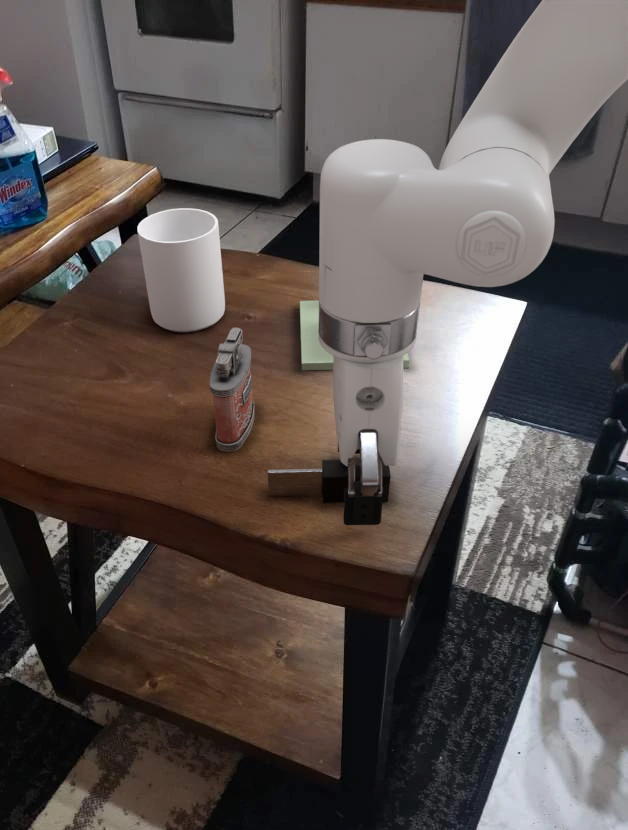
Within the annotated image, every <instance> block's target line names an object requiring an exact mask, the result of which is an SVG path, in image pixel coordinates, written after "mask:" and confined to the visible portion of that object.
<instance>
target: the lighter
mask: <svg viewBox="0 0 628 830" xmlns="http://www.w3.org/2000/svg"><path fill="white" fill-rule="evenodd" d="M243 337H244V336H243V330H242V329H241V327H232V328H231V329H230V330H229V332H228V335H227V337H226V339H225V341H224V343H219V345H218V349H217V358H216V360H215V362H214V363H213V365H212V369H211V372H210V376H209V383H208V384H209V391H210V393H211V394H212V400H213V401H212V402H213V411H214V419H215V445H216V447H217V449H218V450H220V451H223V452H234V451H237V450H239V449H240V448H241V447H242V446H243V444H244V443H245V442H246V440H247V439H248V437H249V435H250V433H251V431H252V430H253V425H254V421H255V411H256V410H255V409H256V407H255V401H254V400H253V391H252V388H253V384H252V374H251V365H252V349H251V347H250V346H249V345H247V344H243V341H244V338H243Z"/></svg>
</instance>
